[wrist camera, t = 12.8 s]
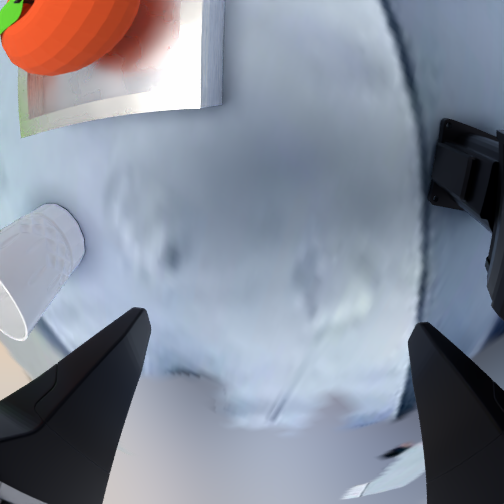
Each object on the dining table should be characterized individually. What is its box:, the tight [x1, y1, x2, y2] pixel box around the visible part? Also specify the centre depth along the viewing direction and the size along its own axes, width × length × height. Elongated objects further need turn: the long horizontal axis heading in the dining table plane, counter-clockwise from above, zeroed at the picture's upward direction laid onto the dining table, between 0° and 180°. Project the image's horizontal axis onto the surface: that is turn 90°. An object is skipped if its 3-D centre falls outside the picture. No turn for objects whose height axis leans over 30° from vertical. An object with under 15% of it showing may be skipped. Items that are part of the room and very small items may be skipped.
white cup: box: [0, 204, 85, 341], centre depth 18 cm, size 8×8×10 cm
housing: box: [18, 0, 225, 138], centre depth 11 cm, size 12×12×6 cm
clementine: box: [0, 0, 140, 76], centre depth 7 cm, size 8×7×7 cm
